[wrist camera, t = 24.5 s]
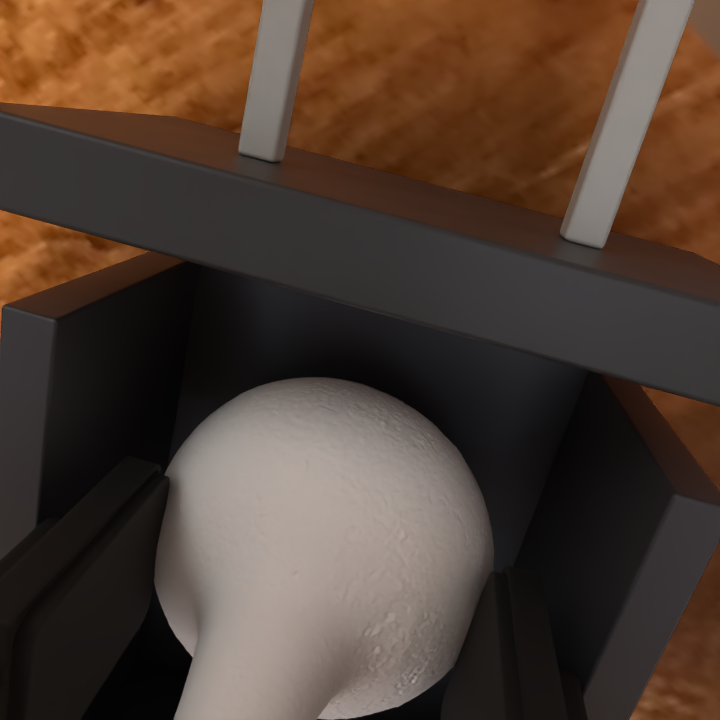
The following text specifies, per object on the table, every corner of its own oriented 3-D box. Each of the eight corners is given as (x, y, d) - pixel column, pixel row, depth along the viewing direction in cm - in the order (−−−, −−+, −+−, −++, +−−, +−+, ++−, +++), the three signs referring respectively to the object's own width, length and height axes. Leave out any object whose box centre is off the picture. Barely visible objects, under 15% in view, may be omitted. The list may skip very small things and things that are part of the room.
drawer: (216, -200, 13) (-34, -554, 6) (824, -57, 12) (1248, -282, 6) (100, 637, 19) (-76, 884, 13) (486, 754, 19) (501, 1075, 12)
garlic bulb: (556, 502, 13) (686, 974, 6) (352, 674, 15) (250, 1191, 8) (316, 291, 13) (107, 511, 5) (136, 499, 15) (-206, 879, 7)
